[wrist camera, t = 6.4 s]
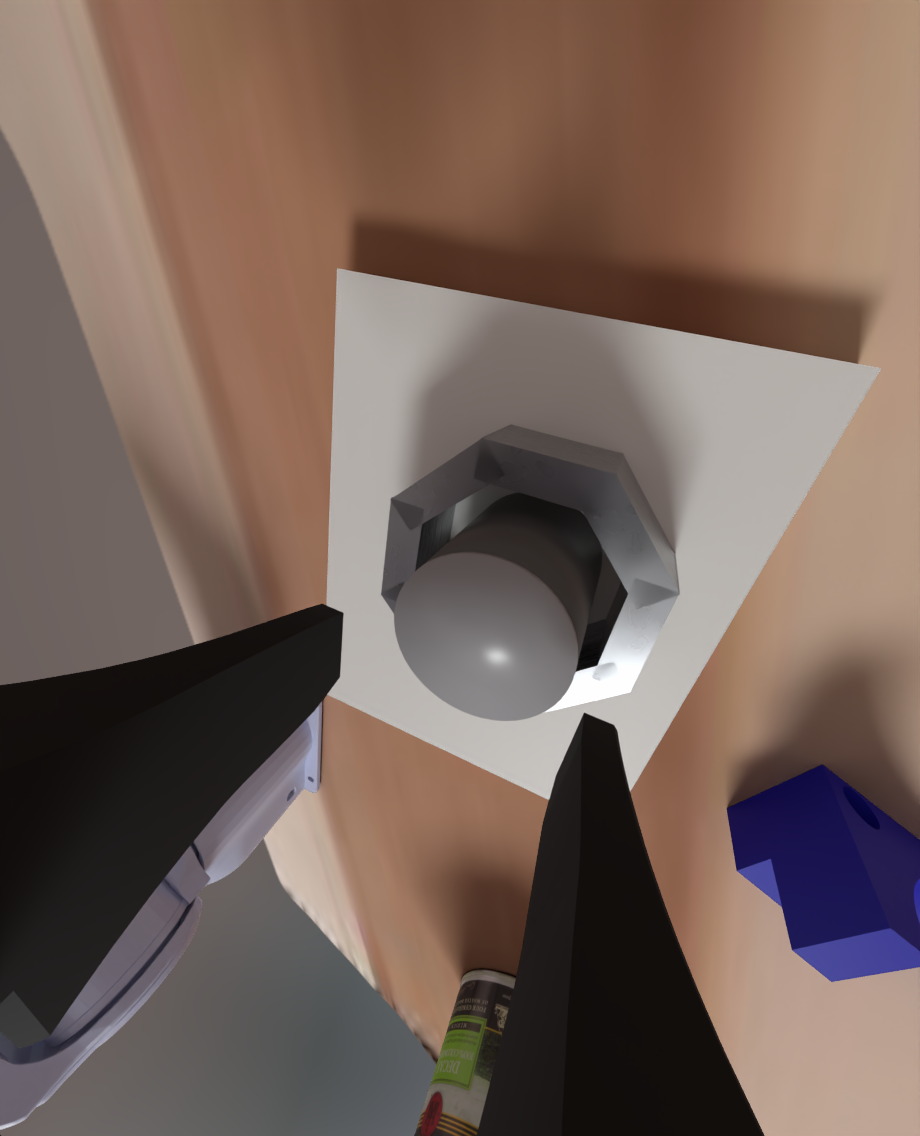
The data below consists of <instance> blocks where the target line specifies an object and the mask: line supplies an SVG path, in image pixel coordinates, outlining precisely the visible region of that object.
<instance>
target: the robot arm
mask: <svg viewBox="0 0 920 1136" xmlns="http://www.w3.org/2000/svg"><path fill="white" fill-rule="evenodd" d="M343 615H344V613H343V612H341V611H338V610H336V609H334V608H331V607H329V606H326V605H324V604H320V605H316V606H313V607H310V608H306V609H303V610H300V611H297V612H294V613H291V614H288V615H286V616H283V617H280V618H277V619H274V620H271V621H268V622H265V623H262V624H259V625H256V626H253V627H250V628H247V629H244V630H241V631H238V632H235V633H232V634H229V635H226V636H223V637H220V638H216V639H213V640H210V641H206V642H203V643H199V644H196V645H193V646H189V647H186V648H183V649H179V650H176V651H173V652H169V653H165V654H161V655H158V656H154V657H149V658H145V659H142V660H138V661H133V662H128V663H124V664H119V665H115V666H111V667H106V668H101V669H96V670H91V671H86V672H80V673H74V674H69V675H62V676H57V677H51V678H45V679H40V680H34V681H28V682H21V683H14V684H6V685H0V1130H1V1129H4V1128H7V1127H10V1126H13V1125H16V1124H18V1123H20V1122H22V1121H23V1120H25V1119H26V1118H27V1117H28V1116H29V1115H30V1114H31V1112H32V1111H33V1110H34V1109H35V1108H36V1107H37V1106H39V1105H42V1104H43V1103H45V1102H46V1101H47V1100H48V1099H49V1098H50V1097H51V1096H52V1095H53V1093H54V1092H55V1091H56V1090H57V1089H58V1088H59V1087H60V1086H61V1085H62V1084H63V1083H64V1081H65V1080H66V1079H67V1078H68V1077H69V1076H70V1075H71V1074H72V1073H73V1072H74V1071H75V1070H76V1069H77V1068H78V1067H79V1066H80V1064H81V1063H82V1062H83V1061H84V1060H85V1059H86V1058H87V1057H88V1056H89V1055H90V1054H91V1053H92V1052H93V1051H94V1050H95V1049H96V1048H97V1047H99V1046H100V1045H102V1044H103V1043H104V1042H105V1041H107V1040H108V1039H109V1038H110V1037H111V1036H112V1035H114V1034H115V1033H116V1032H117V1031H118V1030H119V1029H120V1028H121V1027H122V1026H123V1025H124V1024H125V1023H126V1022H127V1021H128V1020H129V1019H130V1018H131V1017H132V1016H133V1015H134V1014H135V1012H137V1011H138V1010H139V1008H140V1007H141V1006H142V1005H143V1004H144V1003H145V1002H146V1001H147V999H148V998H149V997H150V996H151V995H152V994H153V993H154V991H155V990H156V989H157V988H158V986H159V985H160V984H161V983H162V982H163V980H164V979H165V977H166V976H167V975H168V974H169V972H170V971H171V970H172V969H173V967H174V966H175V964H176V963H177V962H178V960H179V959H180V957H181V956H182V954H183V953H184V951H185V950H186V948H187V947H188V945H189V943H190V942H191V940H192V938H193V936H194V934H195V932H196V929H197V926H198V922H199V917H200V913H201V910H202V904H203V903H202V900H201V898H199V897H198V896H197V895H198V894H199V893H200V892H201V890H202V889H203V888H204V887H205V886H206V885H208V884H211V883H213V882H215V881H218V880H220V879H221V878H223V877H225V876H227V875H228V874H230V873H231V872H233V871H234V870H235V869H236V868H238V867H239V866H240V865H241V864H242V863H243V862H244V861H245V860H246V858H247V857H248V856H249V855H250V854H251V852H252V851H253V850H254V849H255V848H256V846H257V845H258V844H259V842H260V841H261V840H262V839H263V838H264V837H265V835H266V834H267V833H268V832H269V830H270V829H271V828H272V827H273V826H274V824H275V823H276V822H277V821H278V819H279V818H280V817H281V816H282V815H283V813H284V812H285V811H286V810H287V808H288V807H289V806H290V805H291V804H292V802H293V801H294V800H295V799H296V797H297V796H298V795H299V794H300V792H301V791H302V790H303V789H306V790H308V791H310V792H312V793H316V792H317V791H318V790H319V788H320V761H321V727H322V700H323V699H324V698H325V697H326V695H327V694H328V693H329V691H330V690H331V689H332V687H333V686H334V685H335V683H336V682H337V680H338V679H339V678H340V669H341V651H342V633H343ZM0 1136H1V1135H0ZM476 1136H764V1134H763V1132H762V1129H761V1127H760V1125H759V1123H758V1121H757V1119H756V1117H755V1115H754V1113H753V1110H752V1108H751V1106H750V1104H749V1102H748V1100H747V1098H746V1096H745V1094H744V1091H743V1089H742V1087H741V1085H740V1083H739V1081H738V1079H737V1077H736V1075H735V1072H734V1070H733V1068H732V1066H731V1064H730V1062H729V1060H728V1058H727V1056H726V1053H725V1051H724V1049H723V1047H722V1045H721V1042H720V1040H719V1038H718V1035H717V1033H716V1031H715V1028H714V1026H713V1024H712V1021H711V1019H710V1017H709V1015H708V1012H707V1010H706V1008H705V1005H704V1003H703V1001H702V998H701V996H700V994H699V991H698V989H697V987H696V984H695V982H694V979H693V977H692V974H691V972H690V969H689V967H688V964H687V962H686V959H685V957H684V954H683V952H682V949H681V947H680V944H679V942H678V939H677V936H676V934H675V931H674V929H673V926H672V923H671V921H670V918H669V915H668V912H667V910H666V907H665V904H664V901H663V898H662V895H661V892H660V890H659V887H658V884H657V881H656V878H655V875H654V872H653V869H652V866H651V863H650V860H649V856H648V853H647V850H646V847H645V844H644V840H643V837H642V833H641V830H640V826H639V823H638V819H637V816H636V812H635V809H634V805H633V801H632V798H631V794H630V790H629V786H628V781H627V777H626V773H625V769H624V764H623V759H622V754H621V749H620V744H619V738H618V731H617V729H616V727H615V726H614V725H613V724H611V723H608V722H606V721H603V720H601V719H599V718H596V717H594V716H591V715H589V714H587V713H584V714H583V716H582V718H581V720H580V723H579V725H578V727H577V729H576V732H575V734H574V736H573V738H572V741H571V743H570V745H569V747H568V750H567V752H566V754H565V756H564V759H563V761H562V763H561V765H560V768H559V770H558V772H557V774H556V777H555V781H554V784H553V788H552V791H551V795H550V799H549V802H548V806H547V810H546V813H545V817H544V821H543V825H542V831H541V837H540V843H539V849H538V855H537V861H536V867H535V873H534V879H533V885H532V891H531V897H530V903H529V909H528V916H527V922H526V928H525V934H524V940H523V946H522V951H521V956H520V961H519V966H518V971H517V976H516V981H515V985H514V989H513V993H512V997H511V1001H510V1005H509V1009H508V1013H507V1017H506V1021H505V1025H504V1029H503V1033H502V1037H501V1041H500V1045H499V1049H498V1053H497V1057H496V1061H495V1065H494V1069H493V1073H492V1077H491V1081H490V1085H489V1089H488V1093H487V1097H486V1100H485V1104H484V1108H483V1112H482V1116H481V1120H480V1124H479V1128H478V1132H477V1135H476Z"/></svg>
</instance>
